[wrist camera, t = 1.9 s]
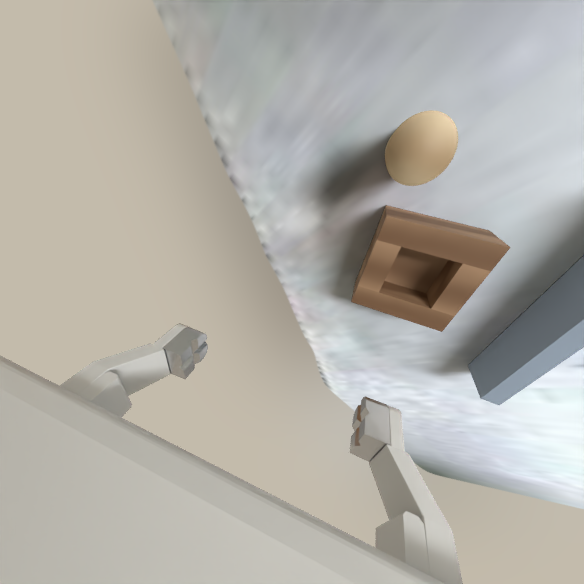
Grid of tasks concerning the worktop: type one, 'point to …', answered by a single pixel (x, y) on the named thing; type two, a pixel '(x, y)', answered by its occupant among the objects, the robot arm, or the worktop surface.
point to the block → (424, 267)
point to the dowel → (421, 148)
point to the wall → (534, 340)
